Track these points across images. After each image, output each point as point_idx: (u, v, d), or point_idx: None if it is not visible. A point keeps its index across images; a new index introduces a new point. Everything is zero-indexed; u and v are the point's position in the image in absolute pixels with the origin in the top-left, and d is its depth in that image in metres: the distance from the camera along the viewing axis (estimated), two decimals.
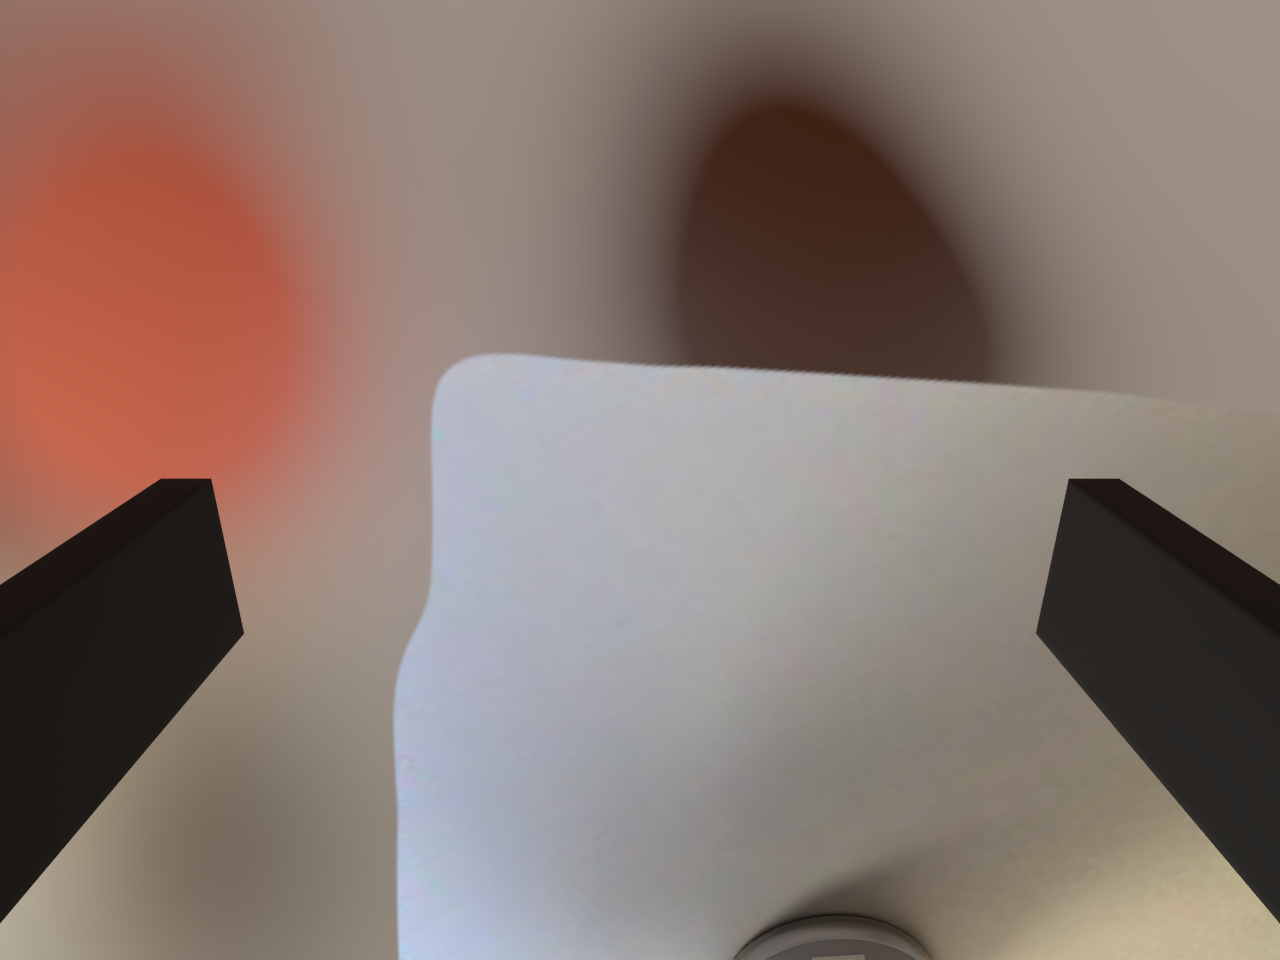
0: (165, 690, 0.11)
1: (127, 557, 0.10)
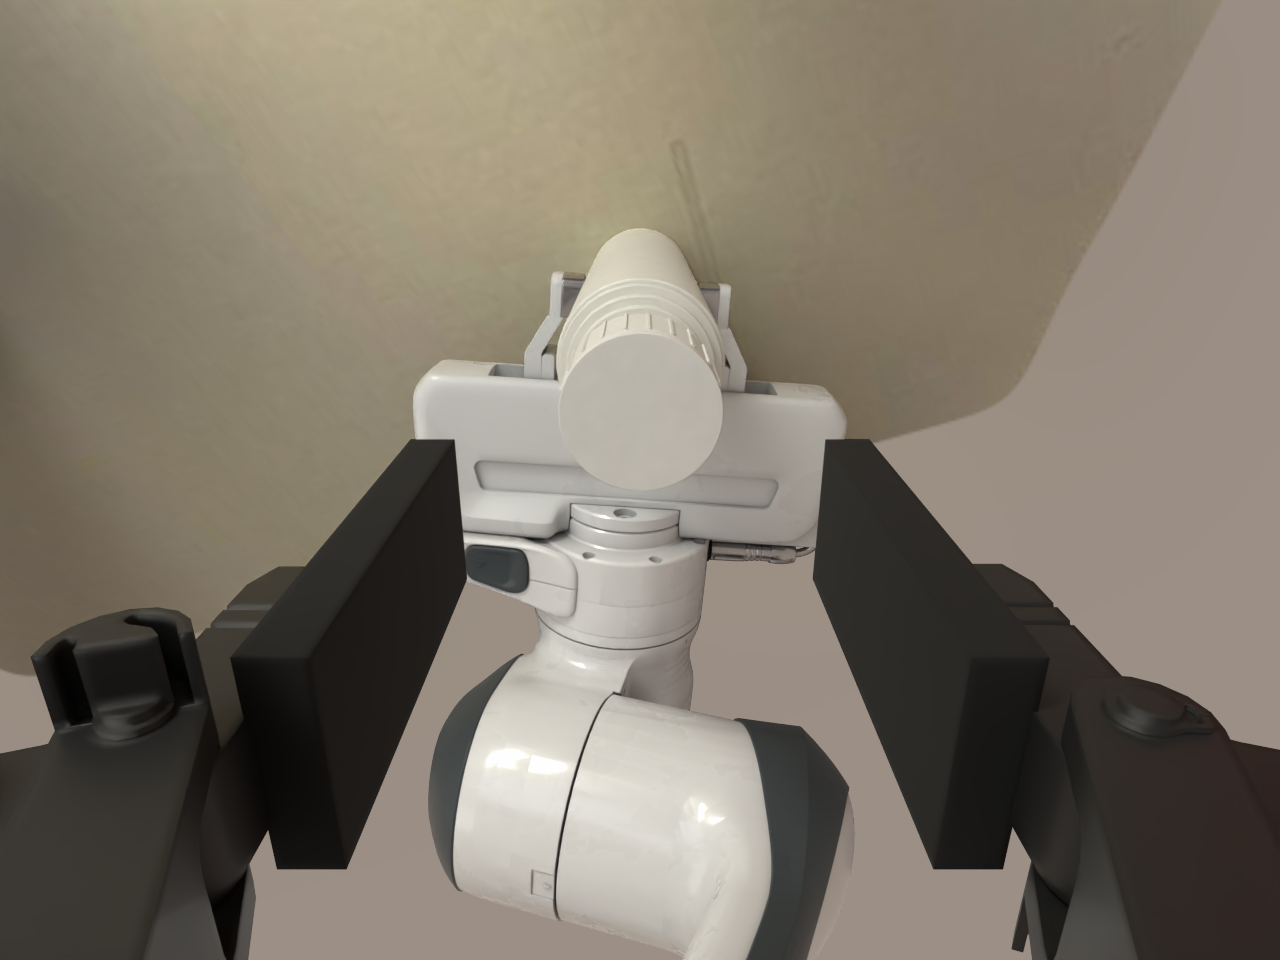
0: (437, 618, 0.13)
1: (423, 499, 0.12)
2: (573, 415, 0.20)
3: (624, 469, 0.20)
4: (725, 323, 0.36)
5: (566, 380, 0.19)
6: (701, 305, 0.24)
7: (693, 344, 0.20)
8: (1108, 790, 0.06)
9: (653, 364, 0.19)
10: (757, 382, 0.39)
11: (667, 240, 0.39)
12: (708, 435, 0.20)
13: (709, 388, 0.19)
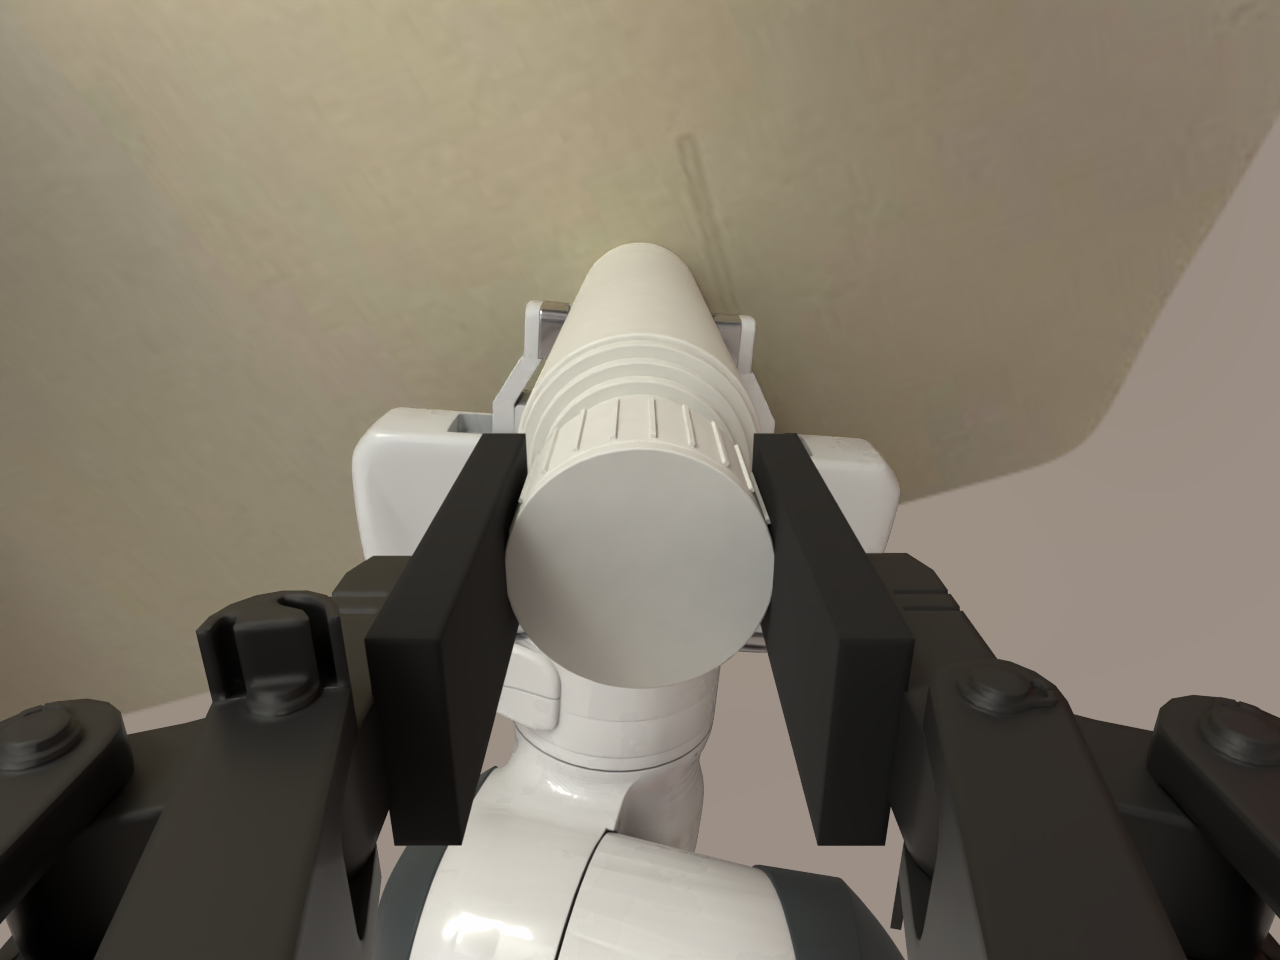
0: None
1: (507, 491, 0.12)
2: (528, 576, 0.12)
3: (613, 657, 0.12)
4: (748, 366, 0.28)
5: (516, 523, 0.12)
6: (729, 372, 0.16)
7: (726, 461, 0.12)
8: (960, 769, 0.06)
9: (660, 498, 0.11)
10: None
11: (673, 259, 0.31)
12: (750, 607, 0.12)
13: (753, 535, 0.12)
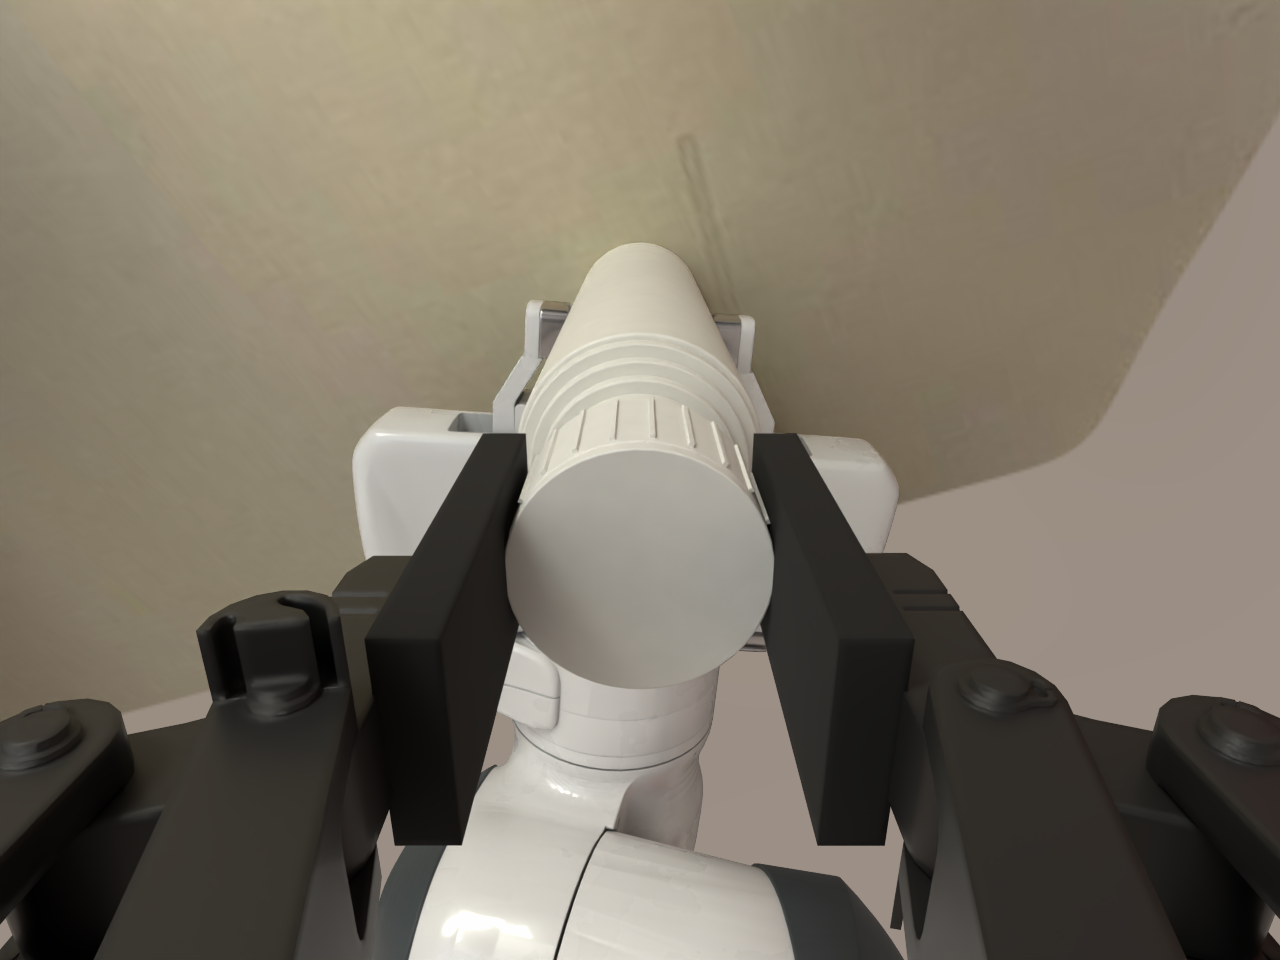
0: None
1: (507, 491, 0.12)
2: (625, 669, 0.13)
3: (728, 612, 0.12)
4: (747, 366, 0.28)
5: (568, 670, 0.13)
6: (728, 372, 0.16)
7: (542, 470, 0.12)
8: (961, 769, 0.06)
9: (557, 548, 0.12)
10: None
11: (673, 259, 0.32)
12: (692, 478, 0.11)
13: (608, 468, 0.11)
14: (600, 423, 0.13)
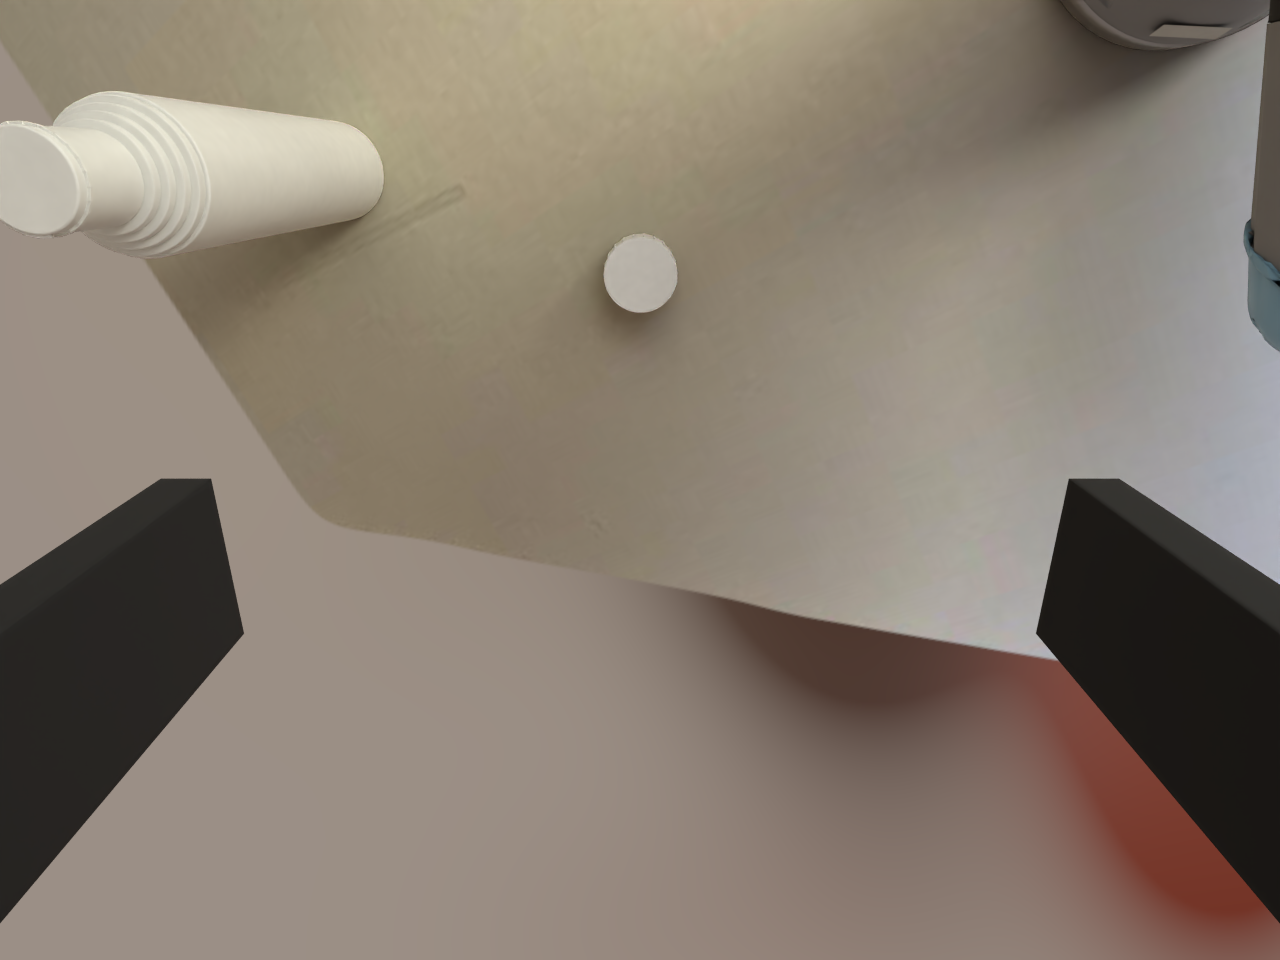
0: (165, 690, 0.11)
1: (126, 557, 0.10)
2: (614, 259, 0.44)
3: (620, 293, 0.44)
4: None
5: (621, 243, 0.43)
6: (201, 227, 0.27)
7: (675, 261, 0.44)
8: None
9: (657, 258, 0.44)
10: None
11: (365, 193, 0.42)
12: (661, 300, 0.45)
13: (672, 281, 0.44)
14: None
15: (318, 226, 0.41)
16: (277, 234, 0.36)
